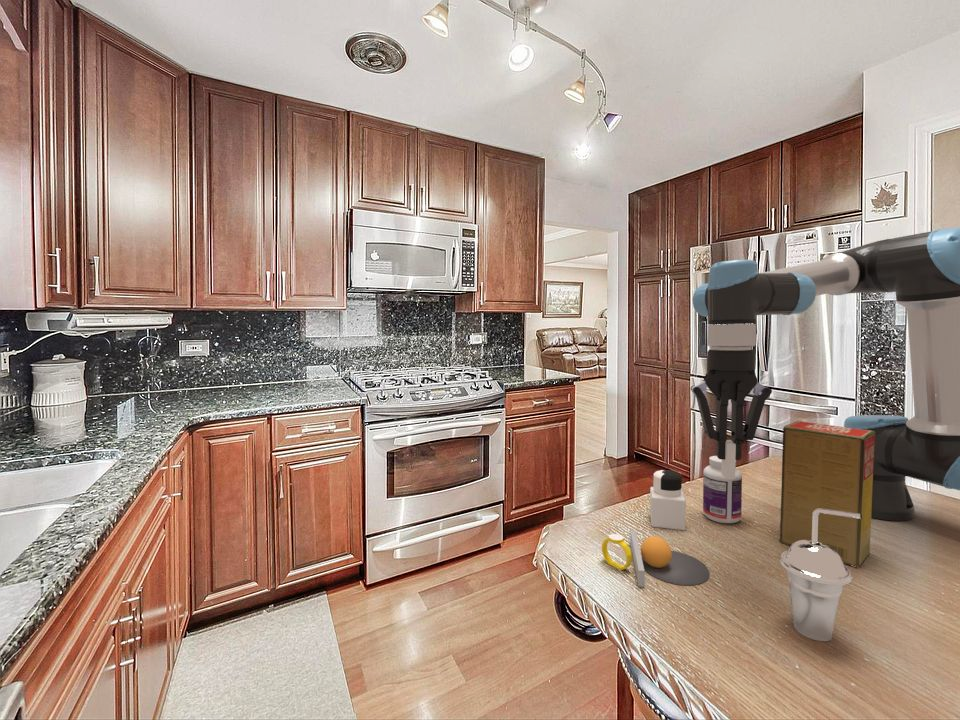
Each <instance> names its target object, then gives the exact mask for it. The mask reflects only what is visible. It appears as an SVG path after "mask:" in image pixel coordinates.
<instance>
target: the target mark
mask: <svg viewBox="0 0 960 720" xmlns="http://www.w3.org/2000/svg"><path fill="white" fill-rule="evenodd" d="M671 553H672V557H671V560H670V562H669V563H668V564H667V565H666V566H664V567H661V568H656V567H652V566H650V565H649V564H648V563H646V562H645V560H644V559H643V557H642V556H641V557H642V562H643V566H644V570H645V572H647V574H649V575H650V576H651V577H653V578H655V579H657V580H659V581H662V582H666V583H667V584H668V583H669V584H670V585H671V584H672V585H677V586H690V587H691V586H697V585H702V584H704V583H705V582H707V581H708V579H710V571H709V568H708V566H707V565H706V564H704V563H703V562H702V561H701V560H699V559H698V558H696V557H693V556H692V555H689V554H686V553H684V552H681V551H676V550H675V551H674V550H671Z"/></svg>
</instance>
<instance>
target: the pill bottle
mask: <svg viewBox="0 0 960 720" xmlns="http://www.w3.org/2000/svg"><path fill="white" fill-rule="evenodd" d="M736 467H737V460H735V479H726V478H725V477H724V476H723V475H722V474H721V470H722V459H719V458H718V457H717V455H712V456H709V465H707V466H706V467H704V468H703V475H702V477H703V484H702V487H703V488H702V495H703V497H702V513H703V514H704V516H705V517H706V518H708V519H709V520H711V521H713V522H716V523H720V524H735V523H739V522H740V521H741V520H742V498H743V497H742V494H743V491H742V490H743V489H742V488H743V475H742V473H741V471H740V470H739V469H737V468H736Z"/></svg>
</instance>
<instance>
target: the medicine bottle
mask: <svg viewBox="0 0 960 720" xmlns="http://www.w3.org/2000/svg"><path fill="white" fill-rule="evenodd" d="M682 478H683V477H682V475H681V474H680V473H678V472H676V471H673V470H671V469H670V470H668V469H661V470H660V469H659V470H656V471H655V472H654V473H653V486H650V488H649V490H650V492H649V493H650V494H649V500H650V501H649V503H650V504H649V515H650V523H651V527H652V528H653V527H655V528H662V529H669V530H679V531H685V530H686V513H687V512H686V509H687V508H686V498H685V494H684V492H683V490H682V483H683V481H682V480H683V479H682Z"/></svg>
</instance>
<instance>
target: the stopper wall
mask: <svg viewBox="0 0 960 720" xmlns="http://www.w3.org/2000/svg"><path fill="white" fill-rule="evenodd" d="M636 532H637V531H636V529H632V528H631V529H630V531H629V534H630V535H629V536H630V537H629V542H630V551H631V553H632V561H633V564H634V569H635V574H636V580H637V586H638V587H639V588H645V586H646V585H645V584H646V583H645V577H646V576H645V572H646V571H645V570H644V566H643V562H642V554H641V548H640V546H639V540H638V536H637V533H636Z"/></svg>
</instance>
